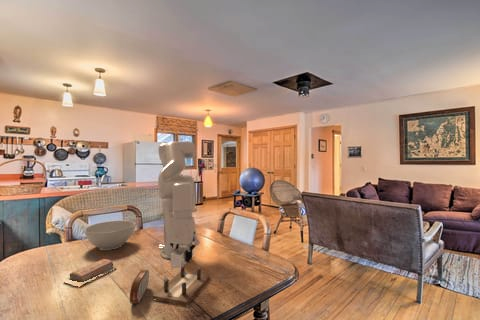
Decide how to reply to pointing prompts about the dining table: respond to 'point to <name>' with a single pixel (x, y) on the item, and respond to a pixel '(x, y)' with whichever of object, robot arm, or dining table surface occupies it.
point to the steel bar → (179, 257)
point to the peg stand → (182, 287)
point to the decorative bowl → (110, 233)
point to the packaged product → (92, 270)
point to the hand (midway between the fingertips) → (183, 259)
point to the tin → (139, 286)
